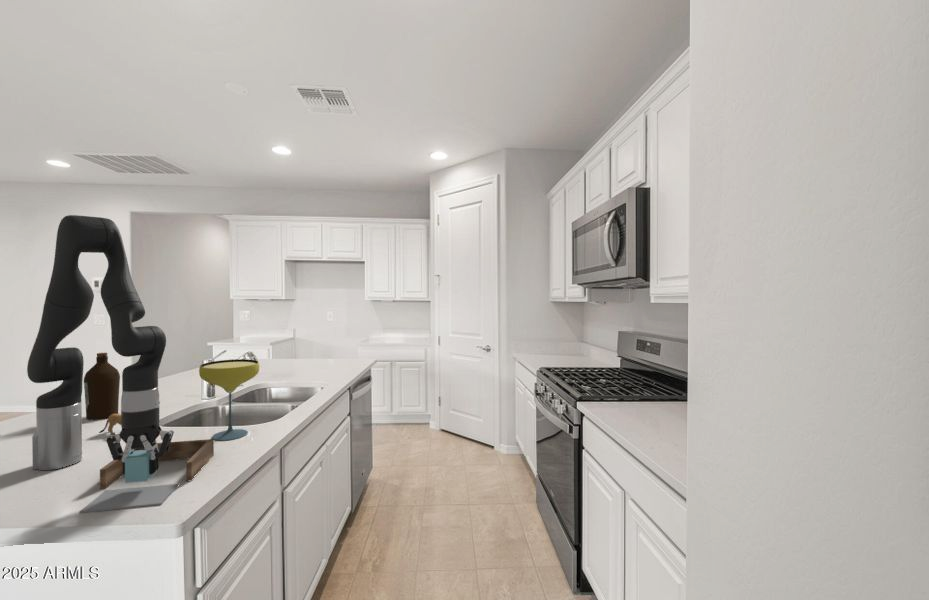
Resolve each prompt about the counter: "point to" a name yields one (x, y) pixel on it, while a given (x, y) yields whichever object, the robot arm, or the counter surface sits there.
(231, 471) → the counter surface
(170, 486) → the rubber mat
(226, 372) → the cocktail glass
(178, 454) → the open-front crate
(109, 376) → the olive oil
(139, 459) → the teal block
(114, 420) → the lion figurine
